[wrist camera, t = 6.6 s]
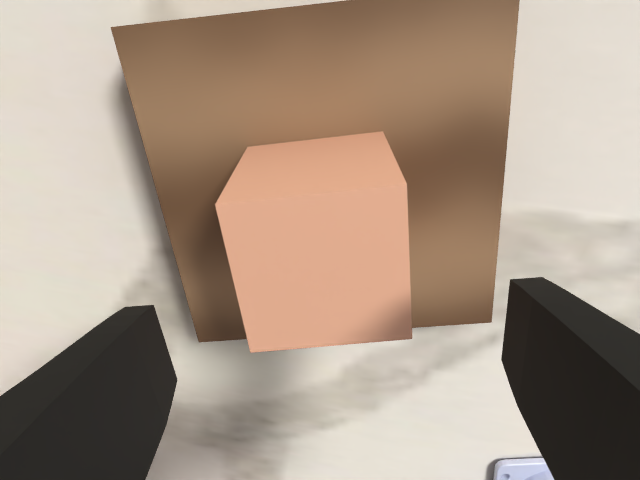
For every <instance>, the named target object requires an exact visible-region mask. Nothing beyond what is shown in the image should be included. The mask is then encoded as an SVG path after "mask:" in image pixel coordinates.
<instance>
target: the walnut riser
mask: <svg viewBox="0 0 640 480" xmlns="http://www.w3.org/2000/svg"><path fill="white" fill-rule="evenodd" d="M518 11H519V0H347V1H339V2H330V3H321V4H312V5H303V6H294V7H285V8H277V9H268V10H259V11H250V12H241V13H232V14H223V15H215V16H206V17H197V18H188V19H179V20H170V21H161V22H153V23H144V24H135V25H126V26H117V27H111V30H112V34H113V37H114V41H115V44H116V48H117V52H118V55H119V59H120V62H121V66H122V69H123V73H124V77H125V80H126V84H127V87H128V91H129V94H130V98H131V102H132V105H133V109H134V112H135V116H136V119H137V123H138V127H139V130H140V134H141V137H142V141H143V144H144V148H145V152H146V155H147V159H148V162H149V166H150V169H151V173H152V177H153V180H154V184H155V187H156V191H157V194H158V198H159V202H160V205H161V209H162V212H163V216H164V219H165V223H166V227H167V230H168V234H169V237H170V241H171V244H172V248H173V252H174V255H175V259H176V262H177V266H178V269H179V273H180V277H181V280H182V284H183V287H184V291H185V294H186V298H187V302H188V305H189V309H190V312H191V316H192V319H193V323H194V327H195V330H196V334H197V337H198V341H199V342H210V341H225V340H240V339H247V336H246V332H245V328H244V323H243V319H242V315H241V311H240V307H239V303H238V298H237V294H236V290H235V286H234V282H233V278H232V273H231V269H230V265H229V261H228V257H227V253H226V248H225V244H224V240H223V236H222V232H221V227H220V223H219V219H218V215H217V211H216V207H215V204H216V202H217V200H218V198H219V197H220V195H221V193H222V191H223V189H224V188H225V186H226V184H227V182H228V181H229V179H230V177H231V175H232V173H233V172H234V170H235V168H236V166H237V165H238V163H239V161H240V159H241V157H242V156H243V154H244V152H245V150H246V149H247V147H250V146H259V145H268V144H276V143H285V142H294V141H303V140H311V139H320V138H329V137H338V136H346V135H355V134H364V133H373V132H381V131H383V133H384V135H385V137H386V139H387V141H388V144H389V146H390V148H391V150H392V152H393V155H394V157H395V159H396V161H397V163H398V165H399V168H400V170H401V172H402V174H403V176H404V179H405V181H406V183H407V199H408V228H409V257H410V286H411V315H412V328H416V327H431V326H446V325H460V324H475V323H490V322H491V321H492V310H493V298H494V287H495V275H496V264H497V253H498V241H499V230H500V218H501V207H502V195H503V184H504V172H505V161H506V149H507V138H508V126H509V115H510V103H511V92H512V80H513V69H514V57H515V46H516V34H517V23H518Z"/></svg>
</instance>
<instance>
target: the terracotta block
mask: <svg viewBox="0 0 640 480" xmlns="http://www.w3.org/2000/svg"><path fill="white" fill-rule="evenodd" d="M215 207H216V211H217V215H218V219H219V223H220V227H221V232H222V236H223V240H224V244H225V248H226V253H227V257H228V261H229V265H230V269H231V273H232V278H233V282H234V286H235V290H236V294H237V298H238V303H239V307H240V311H241V315H242V319H243V323H244V328H245V332H246V336H247V340H248V344H249V349H250V353H252V352H264V351H275V350H287V349H299V348H311V347H322V346H334V345H346V344H358V343H369V342H381V341H393V340H405V339H412V315H411V286H410V257H409V228H408V199H407V183H406V181H405V179H404V176H403V174H402V172H401V170H400V168H399V165H398V163H397V161H396V159H395V157H394V155H393V152H392V150H391V148H390V146H389V144H388V141H387V139H386V137H385V135H384V133H383V131H381V132H373V133H364V134H355V135H346V136H338V137H329V138H320V139H311V140H303V141H294V142H285V143H276V144H268V145H259V146H250V147H247V149H246V150H245V152H244V154H243V156H242V157H241V159H240V161H239V163H238V165H237V166H236V168H235V170H234V172H233V173H232V175H231V177H230V179H229V181H228V182H227V184H226V186H225V188H224V189H223V191H222V193H221V195H220V197H219V198H218V200H217V202H216V204H215Z"/></svg>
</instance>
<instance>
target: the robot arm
mask: <svg viewBox="0 0 640 480" xmlns="http://www.w3.org/2000/svg"><path fill="white" fill-rule="evenodd" d="M501 360H502V363H503V366H504V369H505V372H506V375H507V378H508V381H509V384H510V387H511V389H512V392H513V395H514V398H515V400H516V403H517V406H518V408H519V410H520V412H521V414H522V416H523V418H524V420H525V422H526V424H527V426H528V428H529V430H530V432H531V434H532V436H533V438H534V440H535V442H536V445H537V446H538V448H539V450H540V452H541V454H542V456H543V458H526V459H505V460H500V461H498V462H497V463H496V465H495V471H494V479H493V480H640V334H638V333H637V332H635V331H633V330H632V329H630V328H628V327H626V326H625V325H623V324H621V323H620V322H618V321H616V320H615V319H613V318H611V317H610V316H608V315H606V314H604V313H603V312H601V311H600V310H598V309H596V308H595V307H593V306H591V305H590V304H588V303H586V302H585V301H583V300H581V299H580V298H578V297H576V296H575V295H573V294H571V293H570V292H568V291H566V290H565V289H563V288H561V287H559V286H558V285H556V284H554V283H552V282H550V281H548V280H547V279H545V278H543V277H538V278H524V279H510V286H509V295H508V304H507V313H506V323H505V332H504V341H503V350H502V359H501ZM176 383H177V377H176V374H175V371H174V368H173V365H172V361H171V358H170V355H169V352H168V349H167V346H166V342H165V339H164V336H163V333H162V330H161V327H160V324H159V320H158V317H157V314H156V311H155V308H154V305H146V306H132V307H124V308H123V309H121V310H119V311H118V312H116V313H115V314H113V315H112V316H110V317H109V318H107V319H106V320H105V321H103V322H102V323H100V324H99V325H98V326H96V327H95V328H93V329H92V330H91V331H89V332H88V333H87V334H85V335H84V336H83V337H81V338H80V339H79V340H77V341H76V342H75V343H73V344H72V345H71V346H69V347H68V348H67V349H65V350H64V351H62V352H61V353H60V354H58V355H57V356H56V357H54V358H53V359H52V360H50V361H49V362H48V363H46V364H45V365H44V366H42V367H41V368H40V369H38V370H37V371H35V372H34V373H33V374H31V375H30V376H28V377H27V378H26V379H24V380H23V381H21V382H20V383H18V384H17V385H16V386H14V387H13V388H11V389H10V390H8V391H7V392H5V393H4V394H3V395H1V396H0V480H145V479H146V476H147V474H148V471H149V469H150V466H151V464H152V461H153V458H154V456H155V453H156V451H157V448H158V446H159V443H160V440H161V438H162V435H163V432H164V430H165V427H166V424H167V420H168V416H169V412H170V409H171V405H172V401H173V396H174V392H175V388H176Z"/></svg>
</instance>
